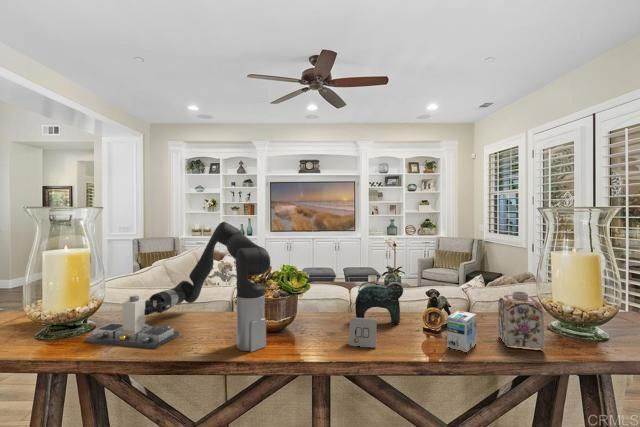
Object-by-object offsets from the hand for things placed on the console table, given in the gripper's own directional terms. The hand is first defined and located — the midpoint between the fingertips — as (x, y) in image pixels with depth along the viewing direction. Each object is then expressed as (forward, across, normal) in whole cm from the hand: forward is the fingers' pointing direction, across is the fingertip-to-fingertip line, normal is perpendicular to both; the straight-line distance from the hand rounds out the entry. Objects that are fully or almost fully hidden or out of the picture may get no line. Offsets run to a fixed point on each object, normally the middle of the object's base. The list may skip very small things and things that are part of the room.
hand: (134, 311), depth 124 cm
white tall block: (0, 0, +8) cm, 8 cm away
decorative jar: (-25, +134, +10) cm, 136 cm away
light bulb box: (-18, +114, +10) cm, 116 cm away
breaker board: (0, 0, +10) cm, 10 cm away
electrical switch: (-12, +80, +10) cm, 82 cm away
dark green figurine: (-38, +85, +10) cm, 94 cm away
